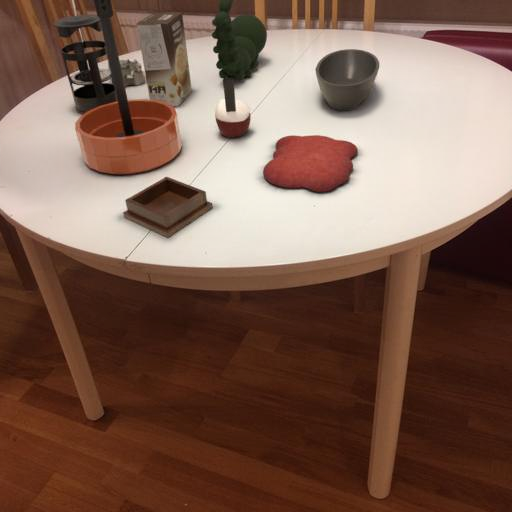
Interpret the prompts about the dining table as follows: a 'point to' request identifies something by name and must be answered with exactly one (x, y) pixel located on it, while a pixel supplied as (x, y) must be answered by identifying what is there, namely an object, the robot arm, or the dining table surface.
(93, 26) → the french press
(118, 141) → the orange round dish
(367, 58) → the bowl
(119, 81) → the black plunger
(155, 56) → the coffee box
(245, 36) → the green topiary foliage
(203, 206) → the small square brown tray
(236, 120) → the cocoa
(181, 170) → the dining table surface
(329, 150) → the patty
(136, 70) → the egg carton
